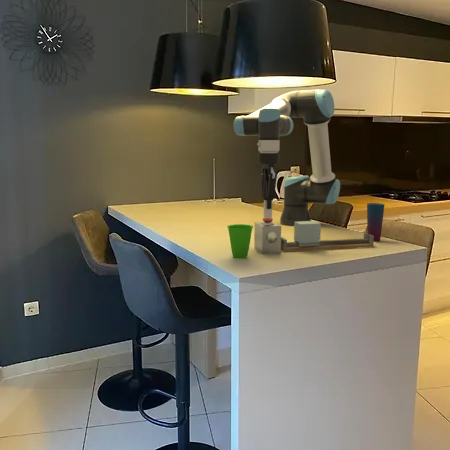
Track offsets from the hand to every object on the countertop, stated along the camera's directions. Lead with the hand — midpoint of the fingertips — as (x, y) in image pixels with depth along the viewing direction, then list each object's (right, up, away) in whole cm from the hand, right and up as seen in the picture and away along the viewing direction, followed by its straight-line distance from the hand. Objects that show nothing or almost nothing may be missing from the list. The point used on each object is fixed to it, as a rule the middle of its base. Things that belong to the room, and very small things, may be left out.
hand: (267, 217), depth 182 cm
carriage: (+15, -10, +5) cm, 19 cm away
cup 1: (-10, -14, -8) cm, 20 cm away
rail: (+23, -11, +7) cm, 27 cm away
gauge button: (0, -8, +1) cm, 8 cm away
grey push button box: (0, -12, +2) cm, 12 cm away
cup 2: (+45, -9, +21) cm, 51 cm away
